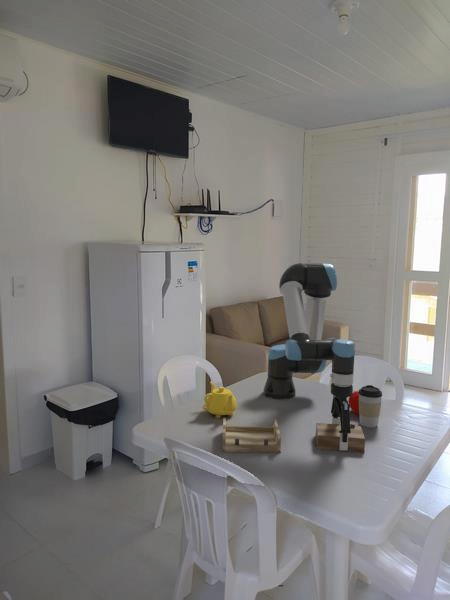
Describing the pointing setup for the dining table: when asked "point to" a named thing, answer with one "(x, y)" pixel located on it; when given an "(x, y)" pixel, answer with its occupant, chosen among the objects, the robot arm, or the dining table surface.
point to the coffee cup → (369, 405)
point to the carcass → (251, 438)
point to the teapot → (220, 401)
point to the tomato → (354, 402)
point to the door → (331, 437)
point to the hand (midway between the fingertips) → (339, 442)
